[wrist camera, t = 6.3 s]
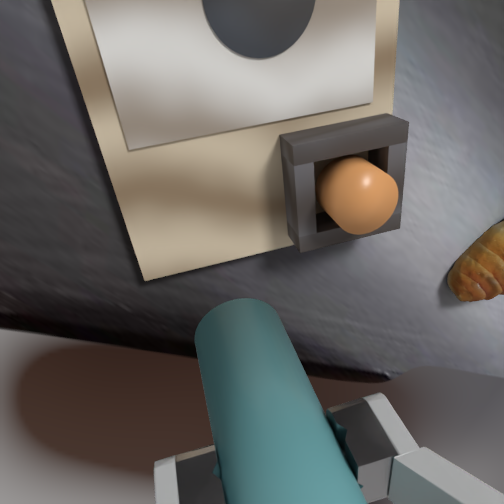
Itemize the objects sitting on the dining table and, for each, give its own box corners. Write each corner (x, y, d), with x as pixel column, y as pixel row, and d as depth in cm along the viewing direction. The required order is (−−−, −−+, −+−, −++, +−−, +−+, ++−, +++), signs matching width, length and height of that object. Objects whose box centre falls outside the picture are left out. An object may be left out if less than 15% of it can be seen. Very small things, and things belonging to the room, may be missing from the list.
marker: (182, 310, 13) (311, 1070, 4) (279, 285, 13) (604, 903, 4) (201, 377, 14) (319, 1005, 5) (286, 353, 15) (526, 893, 6)
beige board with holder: (-10, -193, 16) (-41, -237, 13) (401, -222, 19) (450, -265, 16) (144, 273, 28) (145, 303, 26) (378, 216, 31) (404, 238, 28)
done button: (313, 161, 25) (334, 179, 22) (374, 149, 25) (400, 164, 23) (316, 219, 27) (335, 241, 24) (371, 206, 27) (396, 226, 25)
